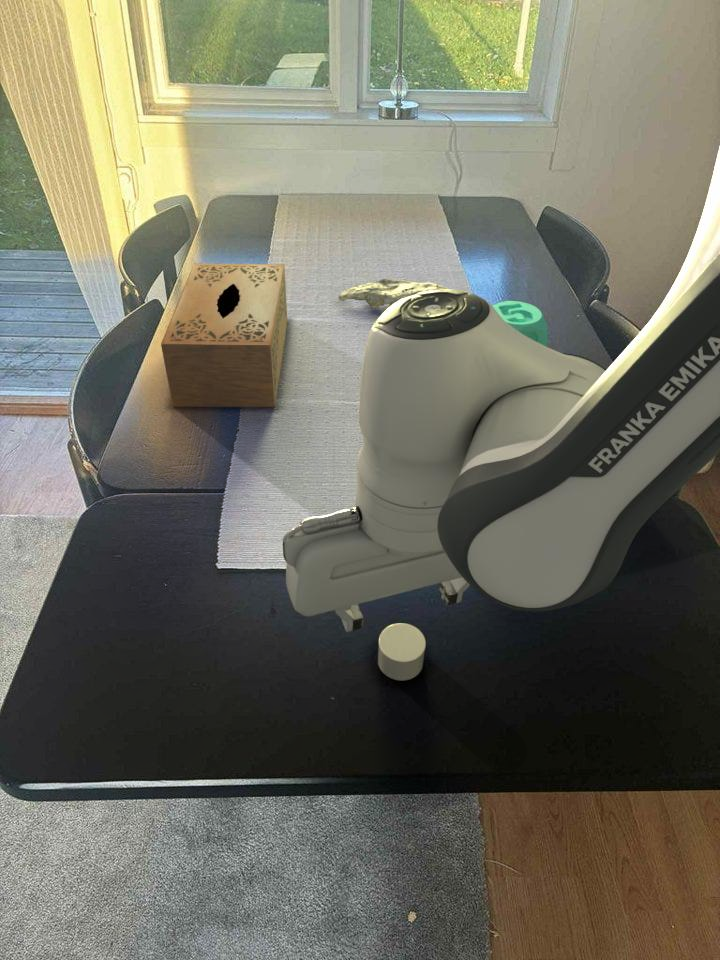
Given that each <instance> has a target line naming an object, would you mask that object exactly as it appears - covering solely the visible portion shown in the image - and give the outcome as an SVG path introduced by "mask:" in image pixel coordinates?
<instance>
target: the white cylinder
mask: <svg viewBox="0 0 720 960" xmlns="http://www.w3.org/2000/svg"><path fill="white" fill-rule="evenodd" d="M377 644H378V646H377V647H378V648H377V665H378V668H379V670H380V671H381V672H382V674H384V675H385V676H386V677H387V678H390V679H392V680H395V681H409V680H412V679H413V678H415V677H417V676H418V675H419V674H420V673H421V672H422V670H423V667H424V663H425V653H426V648H427V647H426V646H427V641H426V638H425V636H424V634H423V633H422V632H421V630H420V629H419V628H417V627H416V626H414V625H412V624H409V623H401V622H398V623H392V624H390V625H388V626H386V627H385V628H384V629H383V630H382V631H381V633H380V634H379V637H378V643H377Z"/></svg>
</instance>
